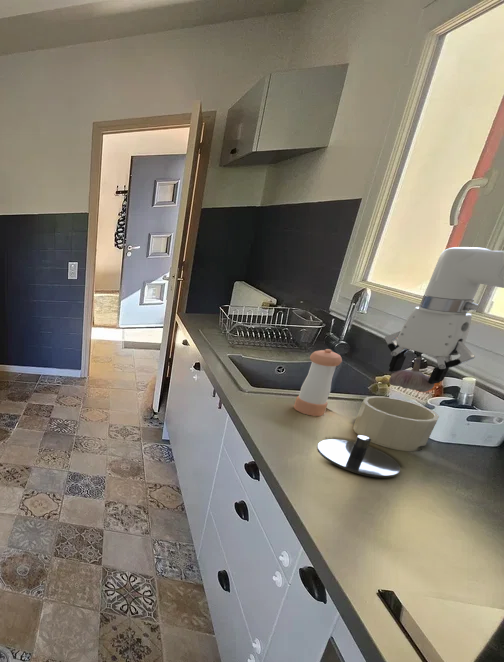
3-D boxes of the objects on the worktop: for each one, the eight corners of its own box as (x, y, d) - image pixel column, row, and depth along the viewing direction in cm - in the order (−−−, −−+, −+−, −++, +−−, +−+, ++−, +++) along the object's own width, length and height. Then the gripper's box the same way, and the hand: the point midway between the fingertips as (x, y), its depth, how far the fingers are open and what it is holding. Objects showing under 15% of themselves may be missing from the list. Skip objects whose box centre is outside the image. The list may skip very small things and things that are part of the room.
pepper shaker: (328, 411, 113) (349, 350, 106) (318, 418, 109) (340, 355, 102) (299, 402, 119) (318, 343, 111) (289, 409, 115) (308, 348, 107)
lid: (414, 472, 86) (426, 449, 84) (367, 485, 82) (378, 461, 80) (344, 439, 99) (352, 418, 97) (301, 448, 96) (308, 427, 93)
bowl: (437, 446, 96) (452, 416, 93) (400, 455, 92) (414, 424, 89) (376, 420, 108) (387, 393, 105) (340, 427, 104) (350, 400, 101)
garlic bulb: (379, 383, 97) (391, 354, 94) (402, 380, 99) (415, 351, 96) (414, 396, 91) (428, 364, 88) (438, 393, 92) (453, 362, 89)
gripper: (510, 311, 80) (471, 388, 87) (409, 296, 95) (382, 363, 102) (487, 314, 78) (449, 393, 85) (387, 298, 93) (362, 366, 100)
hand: (413, 376), depth 93 cm, fingers closed on garlic bulb, 7 cm apart
